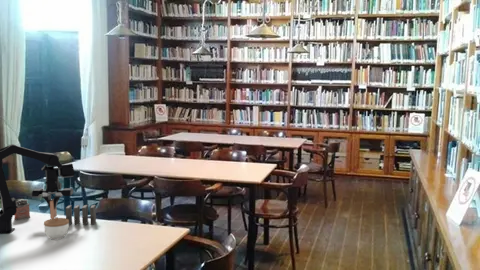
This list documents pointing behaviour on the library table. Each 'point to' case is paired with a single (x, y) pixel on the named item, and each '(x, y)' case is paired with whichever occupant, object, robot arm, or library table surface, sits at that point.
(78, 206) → the domino
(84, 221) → the domino
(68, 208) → the domino
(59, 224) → the lidded jar
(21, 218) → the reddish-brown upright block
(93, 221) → the domino
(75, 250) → the library table surface
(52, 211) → the domino
